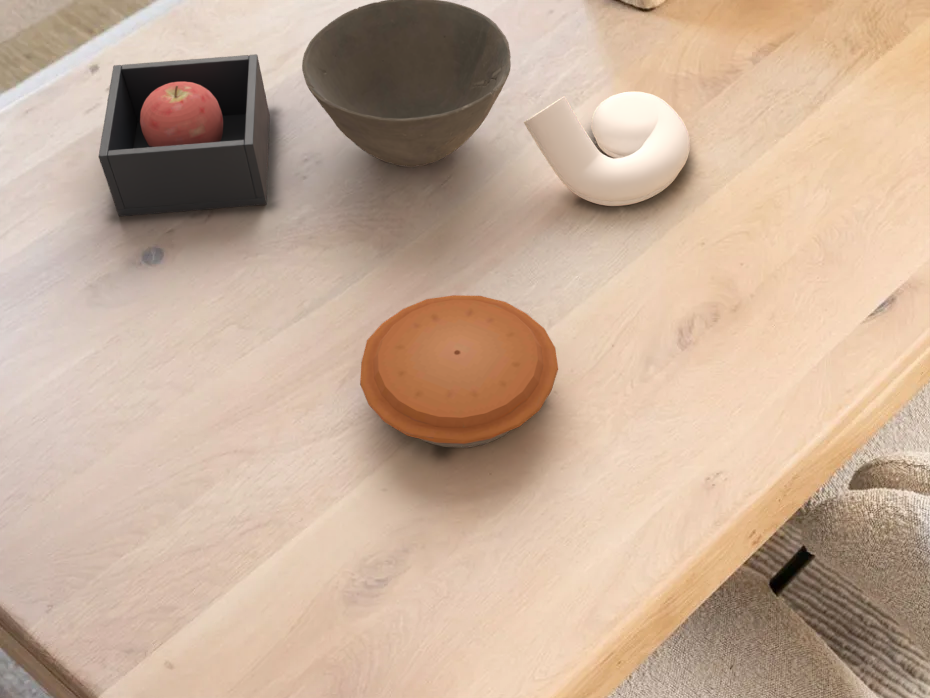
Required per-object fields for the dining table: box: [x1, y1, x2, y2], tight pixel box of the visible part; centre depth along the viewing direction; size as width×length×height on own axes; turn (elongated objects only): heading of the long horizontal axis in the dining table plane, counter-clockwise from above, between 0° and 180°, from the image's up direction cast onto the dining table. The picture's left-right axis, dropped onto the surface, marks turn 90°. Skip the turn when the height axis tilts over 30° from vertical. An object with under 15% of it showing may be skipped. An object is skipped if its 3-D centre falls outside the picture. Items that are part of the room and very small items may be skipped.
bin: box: [98, 53, 270, 217], centre depth 116 cm, size 14×14×7 cm
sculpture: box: [523, 91, 691, 207], centre depth 113 cm, size 12×15×8 cm
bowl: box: [301, 0, 512, 168], centre depth 115 cm, size 19×19×10 cm
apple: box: [140, 82, 223, 147], centre depth 114 cm, size 7×7×8 cm
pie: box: [359, 294, 559, 449], centre depth 98 cm, size 15×16×5 cm
